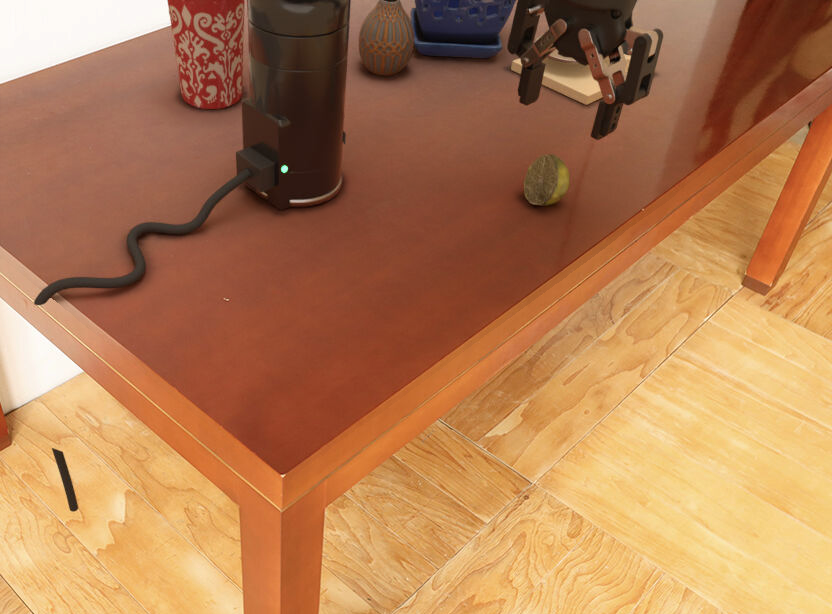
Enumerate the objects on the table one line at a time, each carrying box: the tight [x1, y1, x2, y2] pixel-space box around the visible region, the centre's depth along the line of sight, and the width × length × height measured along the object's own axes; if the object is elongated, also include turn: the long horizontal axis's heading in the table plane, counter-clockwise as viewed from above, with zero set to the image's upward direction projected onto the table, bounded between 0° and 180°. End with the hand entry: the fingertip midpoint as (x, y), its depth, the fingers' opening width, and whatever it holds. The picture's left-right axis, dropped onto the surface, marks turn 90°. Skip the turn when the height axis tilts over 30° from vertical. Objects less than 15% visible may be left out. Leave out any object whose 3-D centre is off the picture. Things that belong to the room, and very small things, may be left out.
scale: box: [510, 54, 631, 106], centre depth 109 cm, size 14×12×3 cm
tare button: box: [621, 41, 631, 56], centre depth 108 cm, size 3×3×2 cm
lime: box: [523, 154, 571, 207], centre depth 86 cm, size 4×5×5 cm
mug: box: [167, 0, 246, 110], centre depth 98 cm, size 13×9×14 cm
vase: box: [358, 0, 415, 77], centre depth 105 cm, size 7×7×9 cm
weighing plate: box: [534, 34, 580, 64], centre depth 107 cm, size 8×8×1 cm
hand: (563, 119), depth 82 cm, fingers open, 8 cm apart
